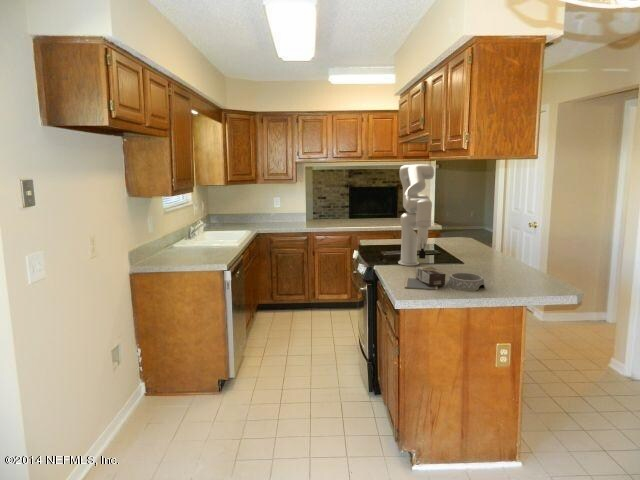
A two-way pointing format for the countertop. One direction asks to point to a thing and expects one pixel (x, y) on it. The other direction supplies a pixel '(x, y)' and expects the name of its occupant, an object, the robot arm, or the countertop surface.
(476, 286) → the dog bowl
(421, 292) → the countertop surface
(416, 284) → the mat
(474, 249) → the countertop surface
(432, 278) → the coffee box
